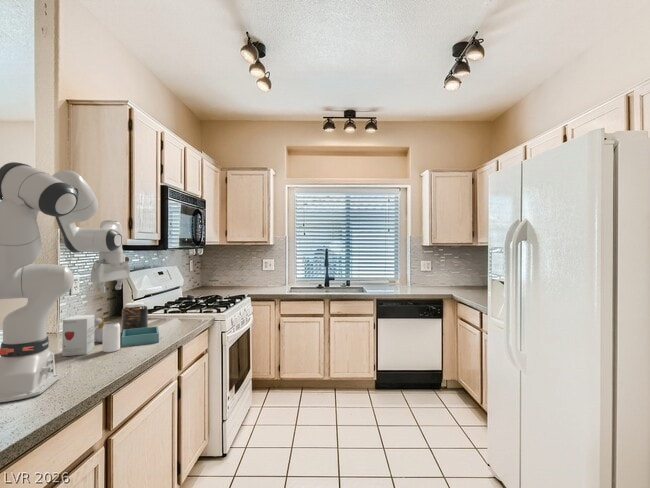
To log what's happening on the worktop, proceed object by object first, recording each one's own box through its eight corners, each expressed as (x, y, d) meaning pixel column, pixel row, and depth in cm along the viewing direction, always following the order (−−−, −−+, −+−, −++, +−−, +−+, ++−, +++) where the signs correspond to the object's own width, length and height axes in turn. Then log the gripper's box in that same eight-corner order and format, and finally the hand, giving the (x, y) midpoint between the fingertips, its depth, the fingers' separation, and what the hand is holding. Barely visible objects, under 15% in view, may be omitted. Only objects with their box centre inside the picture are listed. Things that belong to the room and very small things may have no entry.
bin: (158, 342, 162) (158, 333, 162) (121, 346, 155) (121, 337, 155) (158, 334, 175) (158, 326, 175) (123, 338, 169) (123, 329, 169)
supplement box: (61, 356, 141) (61, 319, 141) (71, 350, 150) (71, 315, 150) (86, 354, 144) (87, 318, 144) (95, 348, 152) (95, 314, 152)
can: (111, 353, 146) (111, 324, 146) (98, 352, 147) (98, 323, 147) (123, 348, 152) (123, 321, 152) (111, 347, 154) (111, 320, 153)
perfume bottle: (112, 338, 168) (112, 314, 168) (110, 344, 159) (110, 317, 159) (94, 340, 164) (94, 315, 164) (90, 346, 156) (90, 319, 156)
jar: (146, 334, 177) (146, 304, 177) (120, 336, 172) (120, 306, 172) (148, 328, 188) (148, 300, 188) (123, 330, 183) (124, 302, 183)
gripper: (101, 260, 139) (101, 294, 139) (132, 257, 159) (132, 288, 159) (86, 260, 139) (86, 294, 139) (119, 257, 160) (119, 287, 160)
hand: (111, 291), depth 150 cm, fingers open, 8 cm apart
